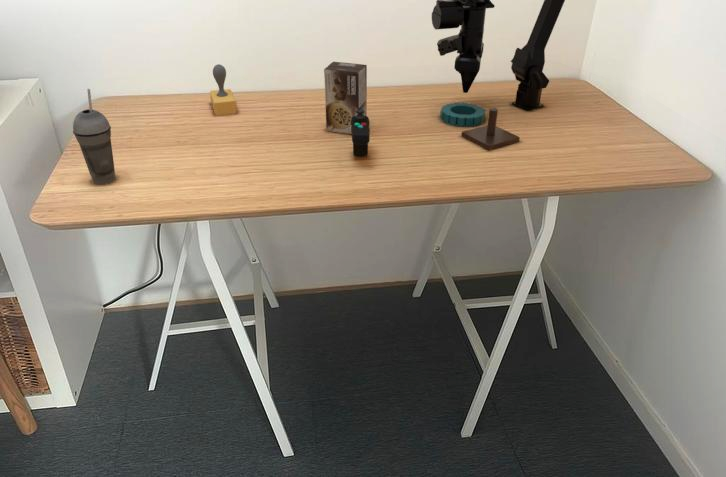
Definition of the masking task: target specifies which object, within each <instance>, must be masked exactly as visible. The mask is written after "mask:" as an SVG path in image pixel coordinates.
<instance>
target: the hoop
mask: <svg viewBox="0 0 726 477" xmlns="http://www.w3.org/2000/svg"><path fill="white" fill-rule="evenodd" d="M485 114H486V109H485V108H484V107H482V106H480V105H478V104H475V103H471V102H451V103H447V104H444V105H443V106H442V107H441V109H440V120H441V121H442V122H443V123H445V124H447V125H450V126H455V127H461V128H470V127H477V126H480V125H482V124H483V123H484V122H485V116H486V115H485Z"/></svg>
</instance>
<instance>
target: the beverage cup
mask: <svg viewBox="0 0 726 477" xmlns="http://www.w3.org/2000/svg"><path fill="white" fill-rule="evenodd" d="M86 90H87V99H88V100H87V101H88V108H89V109H88V108H87V109H85V110H81V111H80V112H78V113H77V114H76V115H75V117H74V119H73V121H72V122H73V123H72V133H73V135H74V137H75V139H76V141H77V143H78V144H79V147H80V151H81V153H82V156H83V158H84V161H85V164H86V167H87V170H88V172H89V176H90V177H91V179H92V182H93V184H95V185H98V186H103V185H104V186H105V185H108V184H111V183H113V182H115V180H116V170H115V162H114V161H115V160H114V154H113V147H112V146H113V145H112V132H111V131H112V130H111V129H112V127H111V125H110V122H109V120H108V119H107V117H106V116H105V114H103V113H102V112H100V111H98V110H96V109H93V104H92V94H91V89H90V88H87V89H86Z"/></svg>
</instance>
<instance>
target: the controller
mask: <svg viewBox="0 0 726 477" xmlns="http://www.w3.org/2000/svg"><path fill="white" fill-rule="evenodd" d="M356 113H357V115H356V116H353V117H352V118H351V134H350V135H351V142H352V154H353V157H355V158H366V157H367V156H368V153H369V143H370V142H371V141H370V134H371V133H370V132H371V131H370V118H369V117H368V116H364V115H363V113H365V111H364V110H363V109H358V110H356Z"/></svg>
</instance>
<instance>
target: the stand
mask: <svg viewBox="0 0 726 477" xmlns="http://www.w3.org/2000/svg"><path fill="white" fill-rule="evenodd" d="M498 112H499V109H498V108H497V107H490V108H489V111H488V119H487V124H486V125H482V126H478V127H475V128H471V129H467V130H464V131H463V130H462V131H461V135H460V136H461V137H462V138H464V139H465V140H467V141H470V142H471V143H473V144H475V145H477V146H479V147H481V148H482V149H485V150H487V151H492V150H495V149H499V148H503V147H506V146H509V145H512V144H515V143H519V142H520V139H521V137H520V136H518V135H516V134H514V133H513V132H510V131H507V130H505V129H503V128H501V127H499V126H498V125H497V120H498Z"/></svg>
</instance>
